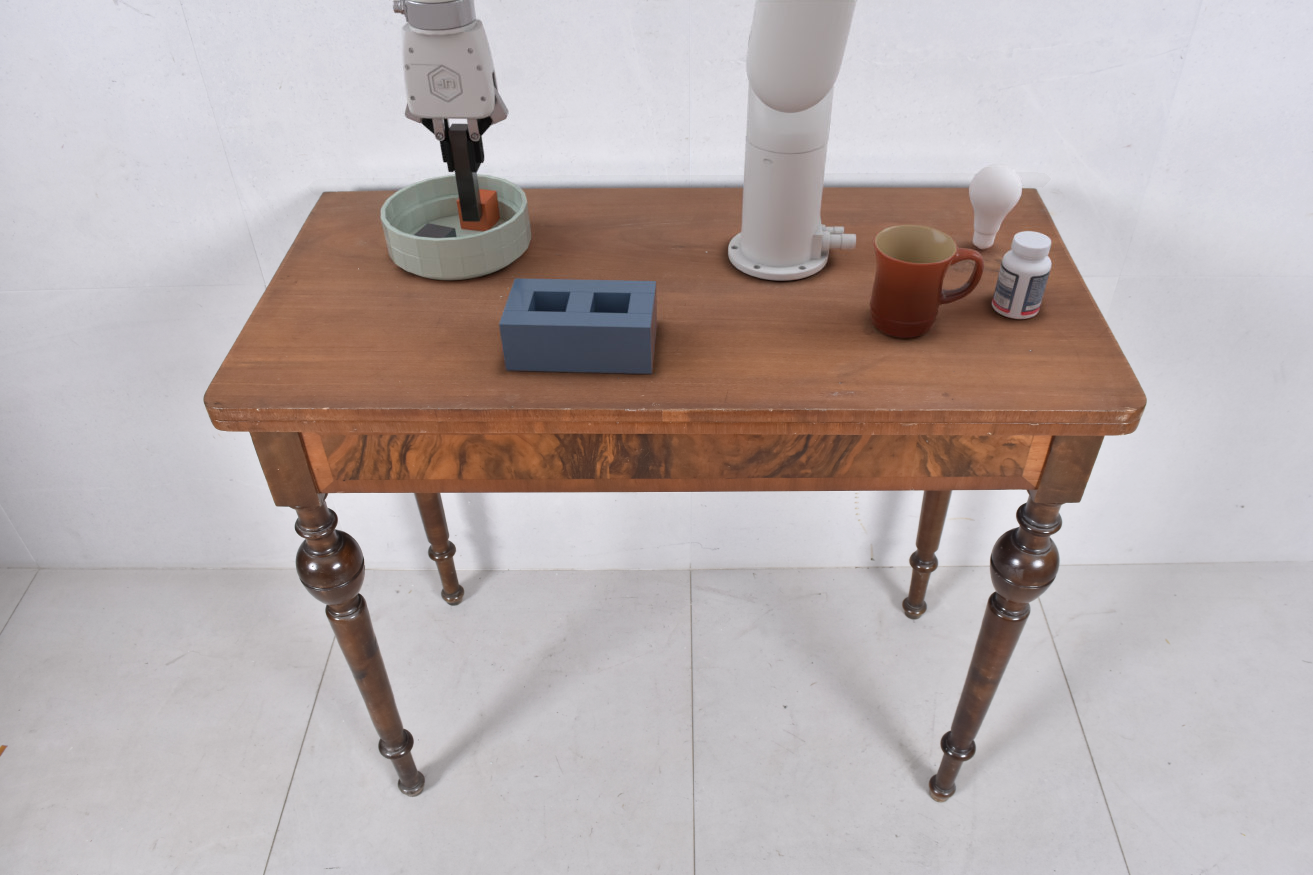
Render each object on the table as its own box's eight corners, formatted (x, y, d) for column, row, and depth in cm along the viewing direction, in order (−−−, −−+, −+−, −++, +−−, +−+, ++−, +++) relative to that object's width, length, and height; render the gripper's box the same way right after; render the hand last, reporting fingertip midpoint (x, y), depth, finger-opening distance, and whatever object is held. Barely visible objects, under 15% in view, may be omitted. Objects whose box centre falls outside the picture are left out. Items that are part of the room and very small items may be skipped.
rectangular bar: (482, 214, 121) (469, 123, 113) (479, 222, 119) (466, 130, 111) (466, 213, 121) (452, 123, 113) (462, 221, 119) (447, 130, 111)
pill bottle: (1039, 300, 109) (1059, 231, 103) (1037, 323, 105) (1058, 254, 99) (992, 293, 110) (1009, 225, 104) (989, 316, 106) (1007, 247, 101)
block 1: (460, 256, 117) (455, 228, 115) (443, 271, 115) (438, 242, 112) (433, 251, 118) (427, 222, 116) (416, 266, 116) (410, 237, 113)
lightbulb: (953, 255, 117) (971, 173, 110) (960, 233, 121) (978, 153, 114) (1003, 263, 115) (1024, 180, 108) (1008, 241, 119) (1029, 160, 112)
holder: (520, 323, 107) (514, 278, 103) (657, 326, 106) (656, 280, 102) (505, 370, 100) (498, 324, 96) (651, 374, 99) (650, 327, 95)
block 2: (500, 218, 125) (496, 190, 122) (488, 232, 122) (484, 204, 119) (472, 215, 126) (468, 187, 123) (460, 229, 123) (456, 201, 120)
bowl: (541, 215, 127) (537, 174, 123) (517, 285, 113) (512, 241, 109) (411, 213, 128) (403, 172, 124) (372, 282, 114) (361, 239, 110)
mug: (864, 344, 102) (877, 262, 96) (858, 302, 109) (870, 222, 102) (975, 349, 101) (995, 267, 95) (963, 306, 108) (981, 226, 101)
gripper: (360, 21, 101) (394, 180, 113) (505, 22, 100) (523, 182, 112) (380, 1, 107) (410, 154, 119) (517, 2, 106) (533, 156, 118)
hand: (465, 166), depth 115 cm, fingers closed on rectangular bar, 2 cm apart
